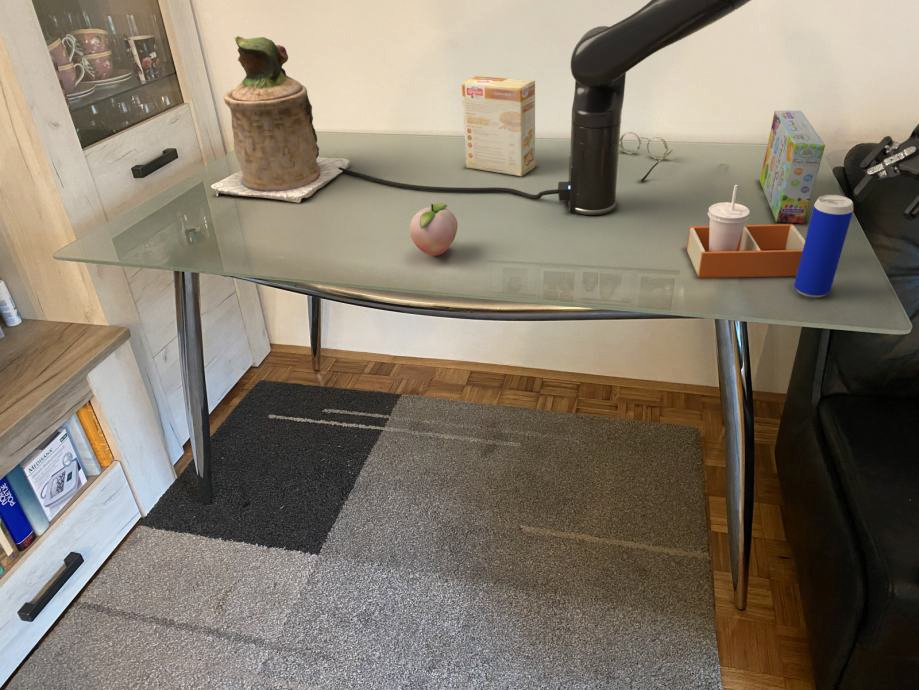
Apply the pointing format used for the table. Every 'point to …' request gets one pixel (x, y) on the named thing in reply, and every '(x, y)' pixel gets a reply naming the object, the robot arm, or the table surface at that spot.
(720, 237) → the smoothie
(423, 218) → the decorative fruit
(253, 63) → the cookie jar
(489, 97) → the coffeecake box
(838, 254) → the beverage can
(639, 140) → the round eyeglasses
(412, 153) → the table surface
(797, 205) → the snack box
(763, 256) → the carrier
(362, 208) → the table surface
